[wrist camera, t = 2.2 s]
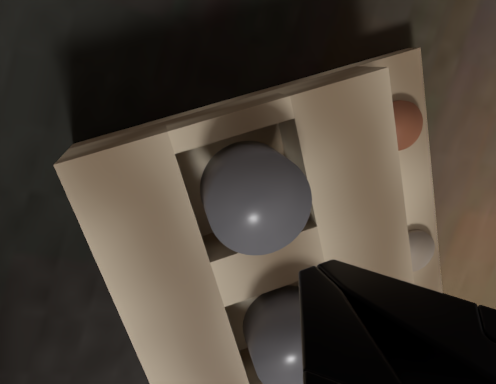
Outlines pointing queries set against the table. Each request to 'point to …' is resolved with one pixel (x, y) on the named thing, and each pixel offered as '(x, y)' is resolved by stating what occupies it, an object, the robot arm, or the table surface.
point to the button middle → (275, 336)
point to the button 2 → (254, 198)
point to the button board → (258, 266)
